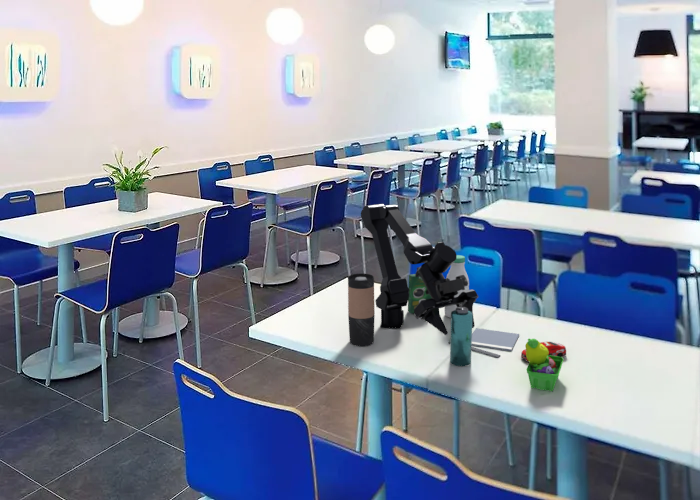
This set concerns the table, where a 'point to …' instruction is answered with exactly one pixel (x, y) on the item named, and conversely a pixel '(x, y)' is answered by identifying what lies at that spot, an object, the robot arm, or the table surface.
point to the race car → (550, 350)
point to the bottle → (461, 337)
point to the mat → (494, 339)
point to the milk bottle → (455, 271)
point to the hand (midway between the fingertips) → (460, 330)
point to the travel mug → (361, 309)
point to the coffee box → (416, 292)
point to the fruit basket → (542, 366)
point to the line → (484, 352)
